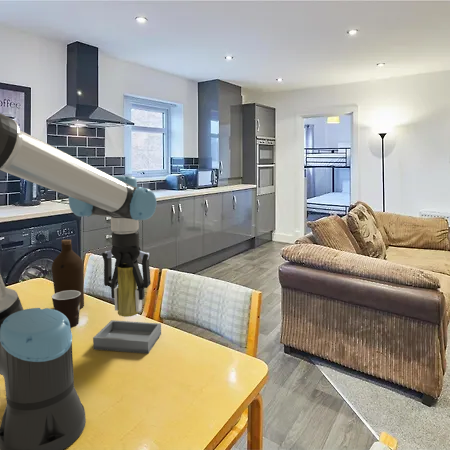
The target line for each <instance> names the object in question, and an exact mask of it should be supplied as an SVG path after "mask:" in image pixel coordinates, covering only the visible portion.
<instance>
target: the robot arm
mask: <svg viewBox="0 0 450 450" xmlns="http://www.w3.org/2000/svg"><path fill="white" fill-rule="evenodd" d="M0 171H1V172H4V173H7V174H10V175H12V176H13V177H14V176H15V177H17V178H21V179H22V180H25V181H28V182H30V183H33V184H36V185H39V186H41V187H44V188H45V189H49V190H51V191H54V192H56V193H60V194H62V195H64V196H67V197H68V206H69V208H70V210H71V213H72V214H74V215H75V216H76V217H88V218H89V217H92V216H100V217H110V230H111V231H112V232H111V245H112V247H111V250H105V251H104V252H102V254H101V257H102V260H103V284H104V286H105V287H108V288H110V291H111V294H110V295H111V298H112V299H114V311H117V312H118V267H120V268H122V265H123V264H129V265H130V267H133V270H132V272H133V275H134V278H135V281H136V284H137V289H136V290H135V295H136V312H140V311H141V310H142V308H143V305H142V304H143V300H144V299H145V297H146V296H145V289H147V288H148V287H150V286H151V284H152V283H151V273H150V269H151V268H150V257H151V253H150V252H149V251H147V252H145V251H142V249H141V247H140V233H139V228H140V227H139V221H146V220H149V219H151V218H152V217H153V215H154V214H155V213H156V209H157V208H156V207H157V205H158V204H157V202H158V201H157V198H156V197H157V196H156V195H155V193H154V192H153V190H151V189H149V188H146V187H142V186H138V181H137V178H136V177H135V176H132V175H110V174H108V173H107V172H104V171H102V170H100V169H98V168H96V167H95V166H92V165H91V164H88V163H86V162H84V161H83V160H80V159H78V158H76V157H74V156H72V155H70V154H69V153H66V152H65V151H63V150H60V149H59V148H56V147H54V146H52V145H51V144H49V143H47V142H45V141H42V140H40V139H38V138H37V137H34V136H33V135H30V134H28V133H26V132H25V131H23V130H21V129H20V127H19V124H18V122H17V121H16V120H14V119H13V118H10V117H9V116H7V115H6V114H5V115H4V114H3V113H1V112H0ZM112 257H114V259H115V263H114V269H112V267H113V266H112V265H113V262H112V261H113V259H112ZM139 257H140V259H141V268H142V272H141V269H140V267H139V261H138V258H139ZM112 273H113V274H112ZM71 328H72V327H71ZM71 328H70V323H69V320H68V318H67V317H66V316H65V315H64V314H63V313H61V312H59V311H57V310H54V308H53V309H52V308H48V307H46V308H41V307H32V308H26V309H24V308H23V305H22V301H21V300H20V296H19V294H18V292H17V291H16V290H15V289H11V288H8V287H6V285H5V283H4V279H3V277H2V275H1V273H0V375H1V376H3V379H4V388H5V399H6V405H5V409H4V411H3V416H2V420H1V421H0V450H65V449H67V448H68V447H70V446H71V445H72V444H73V443H75V441H76V440H78V439H79V437H80V436H81V434H83V431H84V430H85V427H86V422H87V421H86V420H87V419H86V410H85V407H84V405H83V403H82V401H81V399H80V396H79V395H78V392H77V391H76V388H75V378H74V376H75V375H74V364H73V363H74V359H73V333H72V329H71Z"/></svg>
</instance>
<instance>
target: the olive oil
mask: <svg viewBox="0 0 450 450" xmlns="http://www.w3.org/2000/svg"><path fill="white" fill-rule="evenodd" d="M51 274H52V282H53V283H52V284H53V289H54V291H53V292H54V294H55V293H58V292H61V291H68V290H74V291H79V292H80V293H81V297H80V310H81V309H83V308H84V307H85V291H84V289H85V288H84V287H85V283H84V281H85V266H84V262H83V259H82V258H81V257H80V255H78V254H77V253H76V252H74V250H73V245H72V239H71V238H70V239H62V240H61V251H60V253H59V254H58V255H56V257H55V258H54V259H53V260H52V264H51Z"/></svg>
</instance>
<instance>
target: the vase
mask: <svg viewBox="0 0 450 450" xmlns="http://www.w3.org/2000/svg"><path fill="white" fill-rule="evenodd" d="M132 270H133V267H130V265H129V264H123V265H122V268H120V267H118V285H117V286H118V311H117V314H118V315H119V316H120V317H124V318H125V317H134V316H137V314H139V312H140V311H139V312H136V295H135V290H136V289H137V288H138V287H137V284H136V281H135V278H134V275H133V272H132Z"/></svg>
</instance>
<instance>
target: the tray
mask: <svg viewBox="0 0 450 450" xmlns="http://www.w3.org/2000/svg"><path fill="white" fill-rule="evenodd" d="M161 336H162V323H158V322H157V323H156V322H145V321H144V322H143V321H128V320H127V321H126V320H116V319H115V320H114V319H113V320H110V321H108V323H107V324H106V325H105V326H104V327H103V328H101V329H100V331H98V332H97V333H96V335H94V336H93V337H92V343H93V350H97V351H108V352H109V351H110V352H111V351H112V352H122V353H137V354H148V355H149V353H150V352H151V350H152V349H153V347H154V346H155V344H157V343H156V342H157V341H158V340H159V338H160V337H161Z"/></svg>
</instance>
